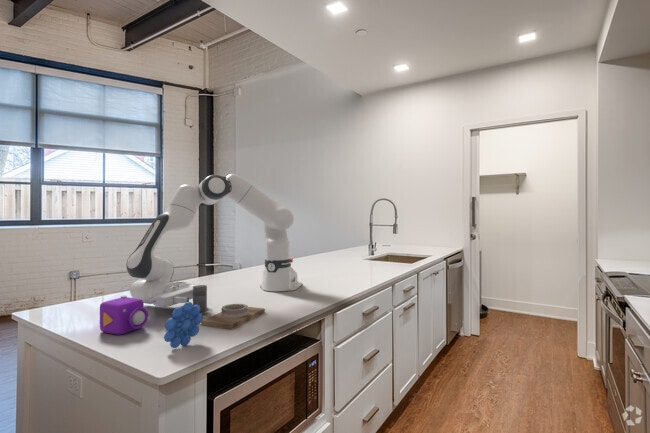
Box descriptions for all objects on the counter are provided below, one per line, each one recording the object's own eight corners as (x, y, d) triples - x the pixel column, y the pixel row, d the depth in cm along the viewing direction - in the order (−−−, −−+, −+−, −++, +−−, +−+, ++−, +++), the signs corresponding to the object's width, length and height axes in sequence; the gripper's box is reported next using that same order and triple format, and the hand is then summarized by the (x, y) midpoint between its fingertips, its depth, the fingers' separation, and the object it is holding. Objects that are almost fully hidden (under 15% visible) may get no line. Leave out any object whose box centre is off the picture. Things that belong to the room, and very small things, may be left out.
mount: (237, 309, 137) (237, 298, 137) (264, 312, 133) (264, 301, 133) (201, 324, 119) (201, 312, 119) (231, 329, 114) (231, 316, 114)
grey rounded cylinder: (199, 311, 134) (199, 284, 134) (209, 312, 133) (209, 285, 133) (190, 314, 130) (189, 287, 130) (200, 316, 128) (200, 288, 128)
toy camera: (133, 338, 107) (132, 304, 106) (93, 335, 109) (93, 302, 109) (157, 326, 117) (156, 295, 117) (120, 323, 120) (120, 293, 120)
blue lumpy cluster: (193, 336, 108) (193, 296, 108) (207, 341, 104) (207, 299, 104) (155, 348, 99) (155, 304, 98) (169, 354, 95) (169, 308, 94)
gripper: (144, 291, 127) (175, 294, 122) (186, 280, 146) (214, 283, 141) (144, 309, 127) (175, 313, 122) (186, 296, 146) (214, 299, 141)
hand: (196, 297), depth 132 cm, fingers open, 8 cm apart
